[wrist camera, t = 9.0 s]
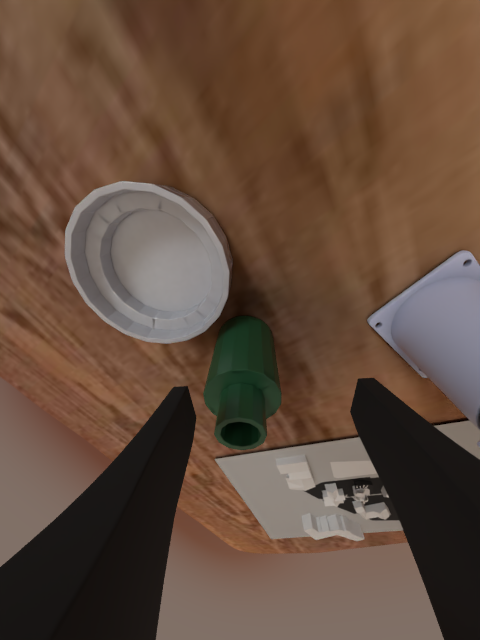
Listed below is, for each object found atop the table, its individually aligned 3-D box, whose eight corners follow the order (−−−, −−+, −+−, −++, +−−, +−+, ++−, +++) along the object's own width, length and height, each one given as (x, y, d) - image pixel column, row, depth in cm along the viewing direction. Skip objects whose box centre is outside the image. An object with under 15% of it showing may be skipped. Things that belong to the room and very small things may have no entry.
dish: (261, 258, 17) (263, 270, 14) (183, 343, 21) (173, 365, 18) (136, 143, 14) (106, 129, 11) (75, 269, 18) (43, 283, 15)
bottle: (284, 338, 20) (305, 435, 12) (247, 368, 22) (244, 469, 14) (242, 304, 19) (235, 388, 11) (207, 340, 21) (177, 434, 13)
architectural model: (518, 410, 23) (541, 429, 21) (477, 523, 36) (490, 541, 34) (214, 457, 30) (212, 474, 29) (271, 537, 43) (271, 552, 41)
